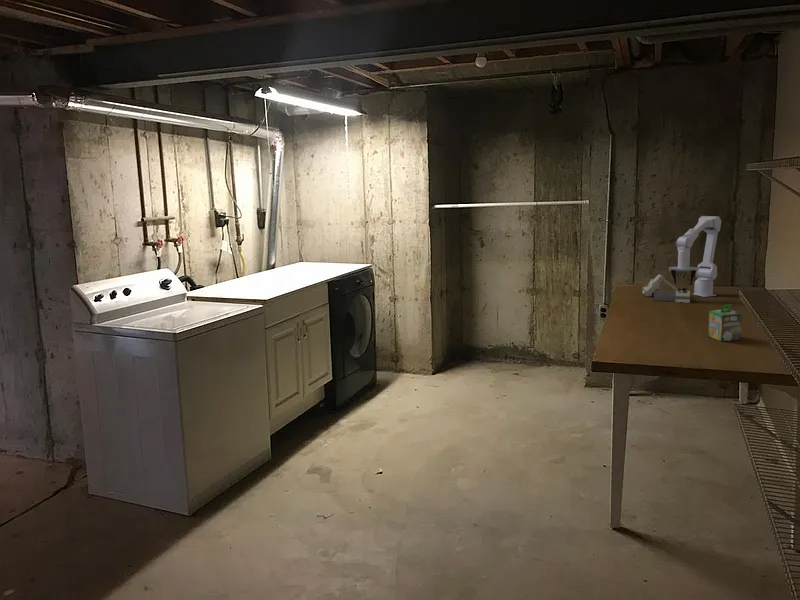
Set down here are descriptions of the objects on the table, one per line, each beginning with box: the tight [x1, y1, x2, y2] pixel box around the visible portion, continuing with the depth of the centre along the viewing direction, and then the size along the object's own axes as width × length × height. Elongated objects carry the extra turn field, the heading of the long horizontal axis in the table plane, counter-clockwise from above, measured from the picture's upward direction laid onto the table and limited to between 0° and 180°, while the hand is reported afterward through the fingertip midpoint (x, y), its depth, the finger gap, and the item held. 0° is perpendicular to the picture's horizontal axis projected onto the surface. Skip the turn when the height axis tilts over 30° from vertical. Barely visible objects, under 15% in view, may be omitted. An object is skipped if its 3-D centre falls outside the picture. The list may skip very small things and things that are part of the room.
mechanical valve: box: [642, 273, 681, 297], centre depth 363 cm, size 10×18×15 cm
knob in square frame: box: [653, 290, 691, 304], centre depth 352 cm, size 18×18×5 cm
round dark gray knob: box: [679, 286, 689, 293], centre depth 344 cm, size 4×4×8 cm
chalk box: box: [708, 303, 743, 342], centre depth 267 cm, size 9×9×15 cm
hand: (683, 284), depth 344 cm, fingers open, 7 cm apart
